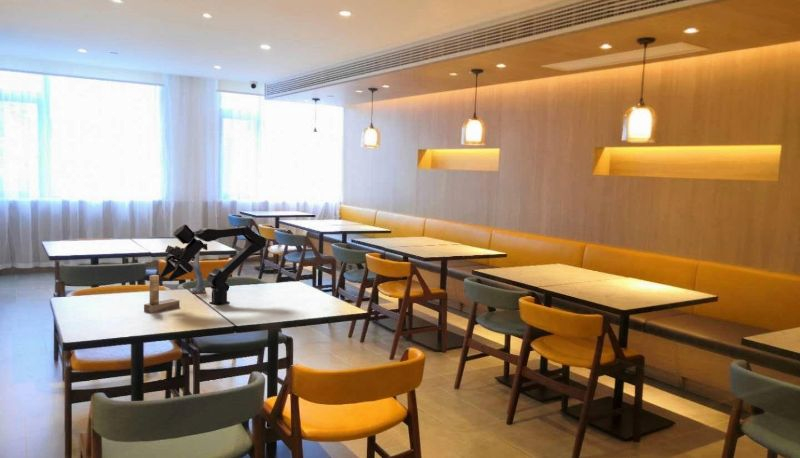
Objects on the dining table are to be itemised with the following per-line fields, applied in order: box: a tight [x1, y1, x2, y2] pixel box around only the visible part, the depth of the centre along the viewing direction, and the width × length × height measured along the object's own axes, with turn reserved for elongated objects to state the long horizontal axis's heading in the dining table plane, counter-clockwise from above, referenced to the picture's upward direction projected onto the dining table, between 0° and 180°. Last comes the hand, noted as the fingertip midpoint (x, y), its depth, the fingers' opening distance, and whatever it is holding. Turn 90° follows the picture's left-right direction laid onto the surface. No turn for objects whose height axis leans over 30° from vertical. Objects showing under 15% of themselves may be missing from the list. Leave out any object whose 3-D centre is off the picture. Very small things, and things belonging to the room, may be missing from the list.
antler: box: [189, 250, 207, 294], centre depth 286 cm, size 12×8×25 cm
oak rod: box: [149, 274, 160, 305], centre depth 243 cm, size 4×4×12 cm
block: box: [143, 298, 180, 314], centre depth 247 cm, size 5×14×3 cm, turn 151°
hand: (165, 278), depth 246 cm, fingers open, 9 cm apart
